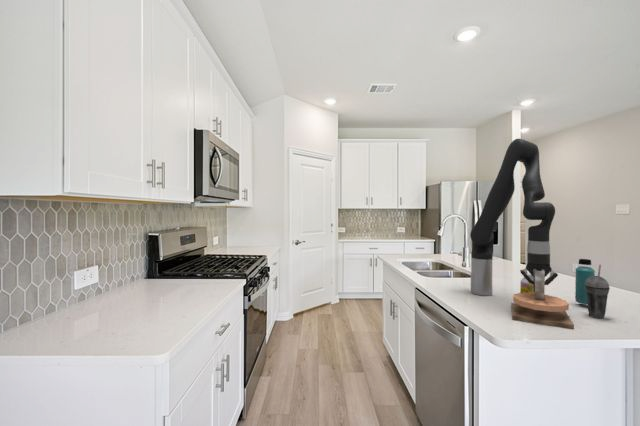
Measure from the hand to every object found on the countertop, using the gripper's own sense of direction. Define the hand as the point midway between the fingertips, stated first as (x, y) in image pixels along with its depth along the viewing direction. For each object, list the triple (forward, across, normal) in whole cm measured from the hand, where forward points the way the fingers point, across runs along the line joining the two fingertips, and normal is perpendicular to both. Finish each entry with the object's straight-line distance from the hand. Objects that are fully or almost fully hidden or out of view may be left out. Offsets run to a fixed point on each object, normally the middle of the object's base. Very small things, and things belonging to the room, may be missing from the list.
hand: (538, 294), depth 125 cm
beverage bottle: (+7, +18, +18) cm, 26 cm away
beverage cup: (+7, +19, +4) cm, 20 cm away
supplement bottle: (+7, -2, +12) cm, 14 cm away
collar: (+2, 0, -7) cm, 7 cm away
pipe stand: (+7, 0, -7) cm, 10 cm away
